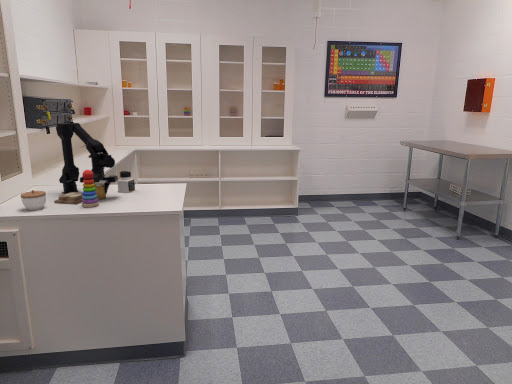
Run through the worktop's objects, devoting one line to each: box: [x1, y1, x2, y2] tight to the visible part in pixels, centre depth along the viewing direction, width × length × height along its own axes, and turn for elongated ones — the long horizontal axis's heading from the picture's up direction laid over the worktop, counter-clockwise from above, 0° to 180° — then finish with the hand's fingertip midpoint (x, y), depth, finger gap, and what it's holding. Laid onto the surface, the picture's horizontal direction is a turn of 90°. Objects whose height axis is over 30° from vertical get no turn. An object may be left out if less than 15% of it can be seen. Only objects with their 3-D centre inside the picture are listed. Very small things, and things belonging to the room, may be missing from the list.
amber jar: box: [95, 182, 107, 200], centre depth 206 cm, size 5×5×8 cm
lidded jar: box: [20, 189, 47, 211], centre depth 185 cm, size 11×11×9 cm
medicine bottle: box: [116, 170, 136, 194], centre depth 220 cm, size 7×7×12 cm
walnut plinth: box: [53, 191, 83, 205], centre depth 201 cm, size 13×13×3 cm
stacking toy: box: [81, 169, 100, 208], centre depth 189 cm, size 8×8×19 cm
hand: (100, 194), depth 206 cm, fingers open, 5 cm apart
